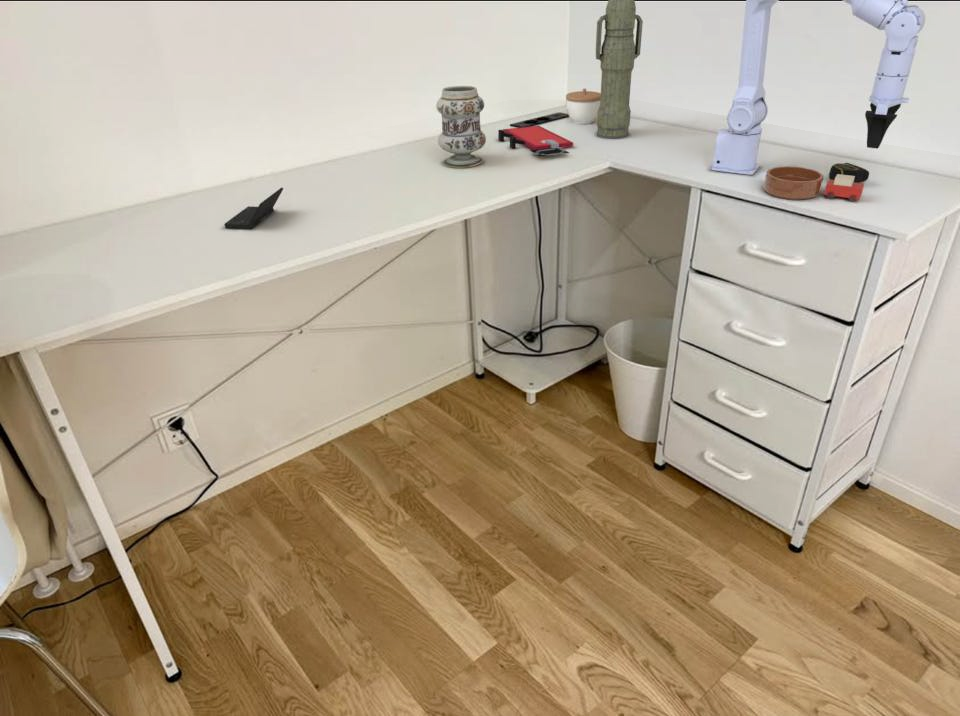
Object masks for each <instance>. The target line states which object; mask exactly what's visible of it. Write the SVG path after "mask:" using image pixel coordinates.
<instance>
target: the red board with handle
mask: <svg viewBox="0 0 960 716" xmlns="http://www.w3.org/2000/svg"><path fill="white" fill-rule="evenodd" d="M497 136H498V137H497V139H498V141H499V142H503V143H504V142H505V138H508V139H509V148H510V149H516V146H517V145H522V146H525V147H528V148H529V151H530V152H531V153H533V154H535V155H536V156H538V157H544V156H553V155H554V156H555V155H564V154H570V151H567V150H565V149H563V148H568V147H574V142H573V141H571V140H569V139H567V138H565V137H564V136H561V135H559V134H557V133H555V132H553V131H550V130H549V129H547V128H544V127H543V126H541V125H531V126H522V127H513V128H503V129H498V135H497Z"/></svg>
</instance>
